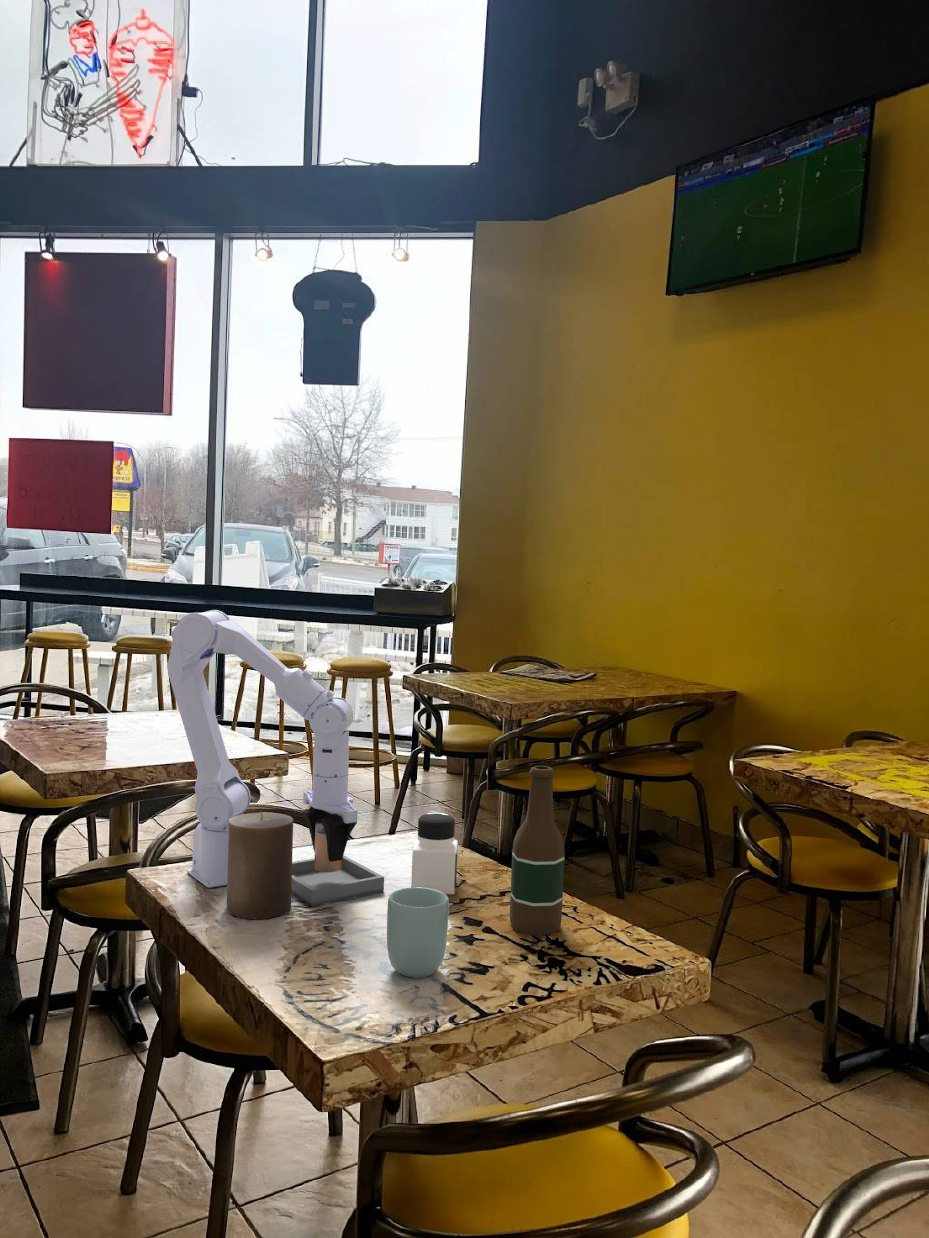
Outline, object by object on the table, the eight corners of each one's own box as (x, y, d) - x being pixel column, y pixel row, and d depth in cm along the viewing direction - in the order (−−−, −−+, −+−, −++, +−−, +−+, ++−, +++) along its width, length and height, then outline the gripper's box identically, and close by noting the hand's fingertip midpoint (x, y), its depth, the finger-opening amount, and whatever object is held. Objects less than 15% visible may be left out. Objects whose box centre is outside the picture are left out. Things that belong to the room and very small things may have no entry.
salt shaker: (309, 866, 162) (310, 821, 162) (332, 862, 165) (334, 817, 164) (322, 873, 159) (324, 827, 158) (346, 869, 161) (347, 823, 161)
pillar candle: (290, 919, 147) (294, 819, 146) (222, 920, 145) (226, 819, 145) (291, 897, 156) (294, 803, 156) (228, 898, 155) (231, 803, 154)
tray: (271, 880, 164) (271, 865, 164) (340, 868, 171) (341, 853, 171) (311, 906, 152) (312, 890, 152) (383, 892, 160) (384, 876, 160)
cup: (413, 954, 136) (416, 882, 135) (457, 971, 131) (460, 897, 130) (373, 971, 130) (376, 896, 129) (418, 989, 125) (421, 912, 124)
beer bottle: (558, 939, 143) (566, 775, 142) (505, 933, 145) (512, 770, 143) (563, 920, 151) (571, 764, 149) (513, 914, 152) (519, 760, 151)
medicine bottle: (455, 895, 160) (458, 822, 159) (410, 893, 160) (413, 820, 159) (456, 880, 167) (459, 810, 166) (413, 879, 167) (416, 808, 167)
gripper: (375, 780, 157) (372, 864, 158) (330, 762, 169) (328, 841, 170) (335, 785, 153) (333, 871, 154) (292, 766, 165) (290, 847, 166)
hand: (328, 856), depth 162 cm, fingers closed on salt shaker, 4 cm apart
